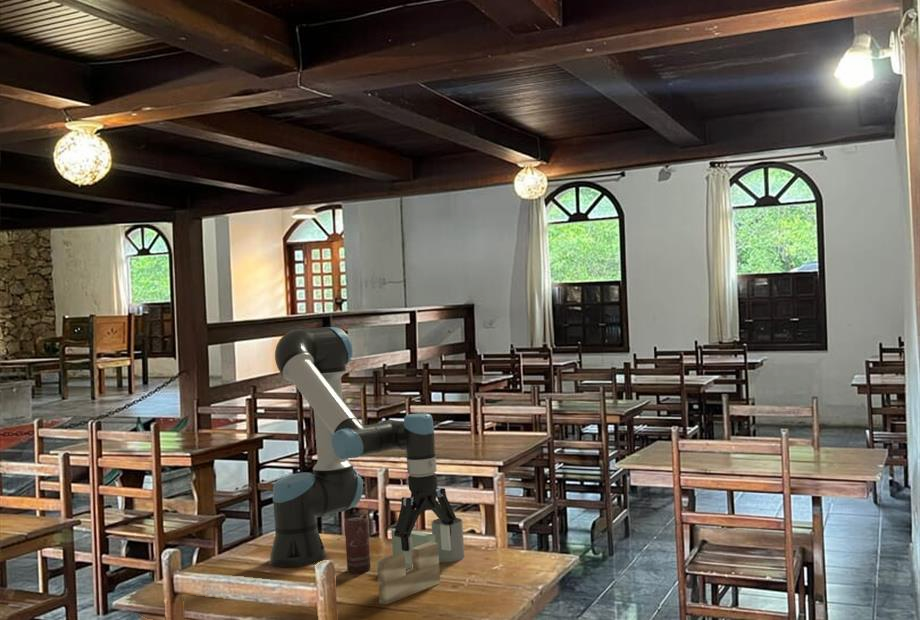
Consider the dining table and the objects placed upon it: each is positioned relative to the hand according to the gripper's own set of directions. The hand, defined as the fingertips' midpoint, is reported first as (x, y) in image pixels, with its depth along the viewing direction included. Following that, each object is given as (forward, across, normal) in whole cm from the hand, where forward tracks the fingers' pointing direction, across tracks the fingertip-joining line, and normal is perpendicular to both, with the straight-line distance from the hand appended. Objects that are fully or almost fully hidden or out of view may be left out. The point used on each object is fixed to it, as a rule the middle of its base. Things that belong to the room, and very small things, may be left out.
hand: (428, 556), depth 218 cm
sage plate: (+4, 0, +5) cm, 7 cm away
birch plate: (+4, -13, -7) cm, 15 cm away
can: (+4, -8, +18) cm, 21 cm away
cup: (+5, +13, +5) cm, 15 cm away
